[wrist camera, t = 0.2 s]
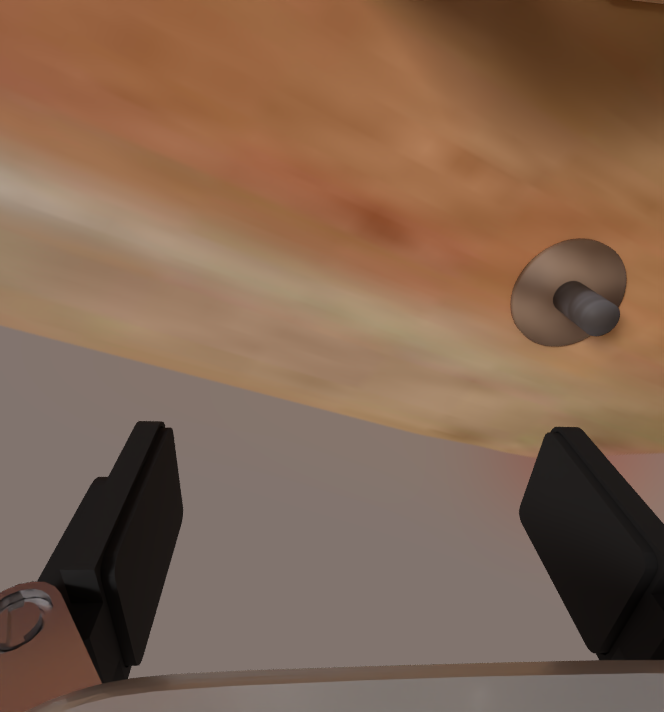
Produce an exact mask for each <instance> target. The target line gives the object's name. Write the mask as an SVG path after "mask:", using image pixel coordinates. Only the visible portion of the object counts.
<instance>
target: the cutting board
mask: <svg viewBox="0 0 664 712" xmlns="http://www.w3.org/2000/svg"><path fill="white" fill-rule="evenodd" d="M634 1H643V2H651V3H660V4H664V0H634Z"/></svg>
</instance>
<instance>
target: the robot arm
mask: <svg viewBox="0 0 664 712" xmlns="http://www.w3.org/2000/svg"><path fill="white" fill-rule="evenodd" d="M179 482H180V481H179V474H178V466H177V458H176V451H175V443H174V435H173V430H172V428H165V424H164V422H158V421H155V422H154V421H152V422H151V421H139V422H137V423H136V425H135V427H134V429H133V431H132V432H131V434H130V436H129V438H128V440H127V442H126V444H125V446H124V448H123V450H122V452H121V454H120V455H119V457H118V459H117V461H116V463H115V465H114V467H113V469H112V471H111V473H110V475H109V476H108V477H98V478H96V479H95V480H94V481H93V483H92V484H91V486H90V488H89V489H88V491H87V493H86V495H85V496H84V498H83V500H82V502H81V504H80V505H79V507H78V509H77V511H76V513H75V514H74V516H73V518H72V520H71V521H70V523H69V525H68V527H67V529H66V531H65V532H64V534H63V536H62V538H61V539H60V541H59V543H58V545H57V547H56V548H55V550H54V552H53V554H52V556H51V557H50V559H49V561H48V563H47V565H46V567H45V568H44V570H43V572H42V574H41V575H40V577H39V579H38V581H32V582H26V583H21V584H17V585H15V586H13V587H10V588H8V589H6V590H3V591H2V592H0V712H664V524H663V523H662V522H661V520H660V519H659V518H658V517H657V516H656V515H655V514H654V512H653V511H652V510H651V509H650V508H649V507H648V505H647V504H646V503H645V502H644V501H643V500H642V499H641V497H640V496H639V495H638V494H637V493H636V492H635V490H634V489H633V488H632V487H631V486H630V485H629V484H628V482H627V481H626V480H625V479H624V478H623V476H622V475H621V474H620V473H619V472H618V471H617V470H616V468H615V467H614V466H613V465H612V464H611V463H610V461H609V460H608V459H607V458H606V457H605V456H604V454H603V453H602V452H601V451H600V450H599V449H598V448H597V446H596V445H595V444H594V443H593V442H592V441H591V439H590V438H589V437H588V436H587V435H586V434H585V432H584V431H583V430H582V429H580V428H578V427H555V428H553V429H552V430H551V432H550V433H547V434H546V435H545V437H544V439H543V442H542V445H541V448H540V451H539V454H538V457H537V459H536V462H535V465H534V468H533V471H532V474H531V477H530V479H529V482H528V485H527V488H526V491H525V494H524V497H523V499H522V502H521V505H520V509H519V515H520V520H521V523H522V525H523V527H524V528H525V530H526V532H527V534H528V536H529V538H530V540H531V542H532V544H533V545H534V547H535V549H536V551H537V553H538V555H539V557H540V559H541V561H542V562H543V565H544V566H545V568H546V570H547V572H548V574H549V576H550V578H551V580H552V582H553V584H554V585H555V587H556V589H557V591H558V593H559V595H560V597H561V599H562V601H563V603H564V604H565V606H566V608H567V610H568V612H569V614H570V616H571V618H572V619H573V622H574V623H575V625H576V627H577V629H578V631H579V633H580V635H581V637H582V639H583V641H584V642H585V644H586V646H587V648H588V649H589V650H590V651H591V652H593V653H596V655H597V656H598V658H599V660H596V661H553V662H552V661H551V662H508V663H506V662H505V663H470V664H468V663H467V664H432V665H397V666H363V667H333V668H303V669H275V670H274V669H273V670H247V671H246V670H245V671H227V672H207V673H187V674H170V675H161V676H150V677H140V678H130V679H128V676H129V673H130V669H131V666H137V665H139V664H140V663H141V661H142V658H143V655H144V652H145V648H146V645H147V641H148V638H149V634H150V631H151V627H152V624H153V620H154V617H155V614H156V610H157V607H158V603H159V600H160V596H161V593H162V589H163V586H164V582H165V579H166V575H167V572H168V569H169V565H170V562H171V558H172V555H173V551H174V548H175V544H176V540H177V537H178V534H179V530H180V527H181V523H182V517H183V504H182V497H181V489H180V483H179Z"/></svg>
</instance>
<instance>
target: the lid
mask: <svg viewBox="0 0 664 712" xmlns="http://www.w3.org/2000/svg"><path fill="white" fill-rule="evenodd" d="M625 288H626V271H625V267H624V264H623V262H622V260H621V258H620V257H619V255H618V254H617V253H616V252H615V251H614V250H613V249H611V248H610V247H609V246H607V245H605V244H603V243H600V242H598V241H595V240H591V239H570V240H566V241H562V242H560V243H557V244H554V245H552V246H550V247H549V248H547V249H545V250H544V251H542V252H541V253H539V254H538V255H537V256H536V257H534V258H533V259H532V260H531V261H530V262H529V263H528V264H527V266H526V267H525V268H524V269H523V271H522V272H521V274H520V275H519V277H518V279H517V281H516V283H515V285H514V288H513V291H512V295H511V304H510V305H511V314H512V318H513V320H514V323H515V324H516V326H517V328H518V329H519V330H520V331H521V332H522V333H523V334H524V335H525V336H526V337H527V338H528V339H530V340H532V341H533V342H535V343H538V344H541V345H545V346H565V345H569V344H573V343H576V342H579V341H581V340H583V339H585V338H587V337H589V336H601V335H604V334H606V333H608V332H610V331H611V330H612V329H613V328H614V327H615V326H616V324H617V323H618V321H619V318H620V311H619V308H618V307H619V305H620V303H621V301H622V299H623V296H624V293H625Z"/></svg>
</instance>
